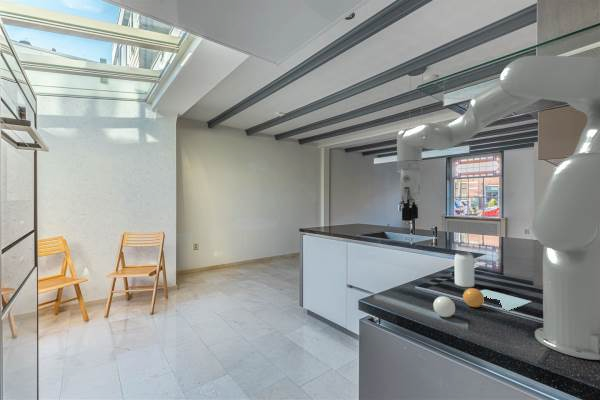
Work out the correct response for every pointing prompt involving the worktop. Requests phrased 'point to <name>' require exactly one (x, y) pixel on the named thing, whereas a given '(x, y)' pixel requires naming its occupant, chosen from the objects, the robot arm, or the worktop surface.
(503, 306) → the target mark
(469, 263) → the can
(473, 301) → the object ball
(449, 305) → the cue ball
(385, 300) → the worktop surface
